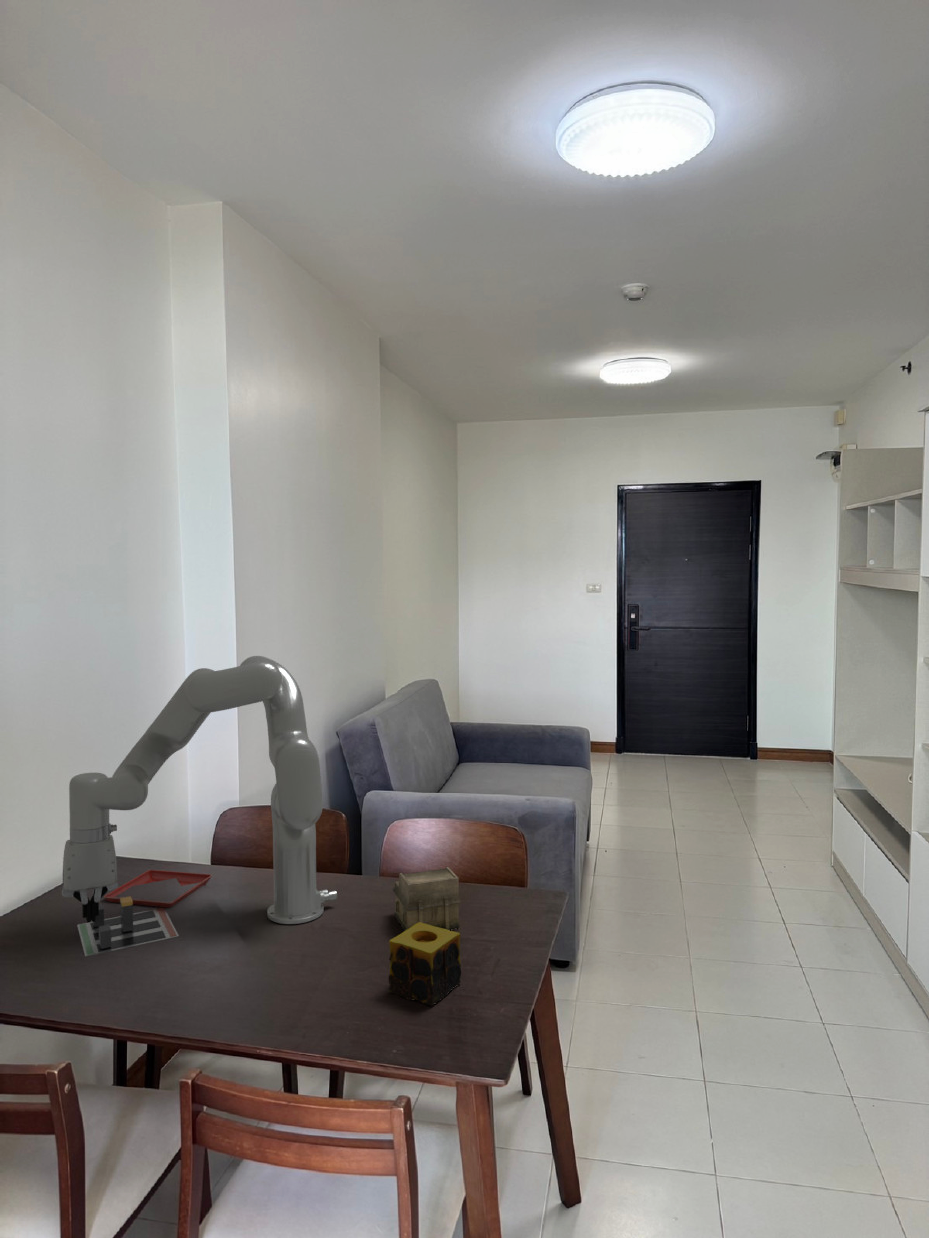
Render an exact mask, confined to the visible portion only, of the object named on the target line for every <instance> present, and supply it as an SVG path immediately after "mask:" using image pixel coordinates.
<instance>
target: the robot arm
mask: <svg viewBox="0 0 929 1238" xmlns="http://www.w3.org/2000/svg"><path fill="white" fill-rule="evenodd" d="M261 702H262V703H263V707H264V710H265V712H264V713H265V719H266V725H267V736H268V756H269V760H270V762H271V764H272V766H273V768H274V772H275V784H274V785H273V788H272V790H271V794H270V809H271V811H270V813H271V820H272V821H271V822H272V824H271V825H272V856H273V861H272V862H273V904H271V905H270V906H269V907H268V908H267V912H266V913H267V914H266V915H267V918H268V919H269V920H270V921H272V922H273V923H278V924H281V925H296V924H298V925H299V924H305V923H308V922H311V921H314V920H316V919H318V918H319V917H321V916H322V915H323V913H324V910H325V909H324V907H325V906H324V903H325V902H326V901H333V900H337V898H338V893H337V891H336V890H330V891H328V888H325V889H321V890H318V889H317V851H316V850H317V831H316V829H317V828H316V823H317V822H318V821H319V819H320V818H321V815H322V812H323V806H324V803H323V802H324V801H323V800H324V799H323V788H322V778H321V777H322V775H321V764H320V758H319V754H318V751H317V748H316V746H315V744H314V743H313V742H312V741H311V740H310V739H309V736H308V728H307V721H306V720H307V718H306V714H305V706H304V700H303V695H302V692H301V689H300V686H299V684H298V682H297V681H296V679H295V678H294V676H293V675H292V674H291V673H290V672H289V670H288V669H286V667H284V666H283V665H282V664H281V663H279V662H277V661H275V660H273V659H272V658H271V659H270V658H268V657H265V656H262V655H253V656H249V657H247V658H246V659H244V660H243V661H242V662H241V663H240V665H238V666H233V667H230V668H225V669H221V670H220V669H219V670H213V669H210V668H207V667H206V668H205V667H204V668H197V669H195V670H193V671H192V672H191V673H190V674H189V675H188V676H187V677H186V678H185V679H184V681H183V682H182V683H181V685H180V686H179V687H178V689H177V690H176V691H175V693H174V694H173V696H172V697H171V698H170V699H169V700H168V702H167V703H166V705H165V706H164V707H163V709H162V710H161V711H160V713H159V714H158V715H157V716H156V718H154V720H153V722H152V723H151V724H150V725H149V726H148V728H147V730H145V732H144V734H143V735H142V736H141V737H140V738H139V739H138V741H137V742H136V743H135V745H134V746H133V747H132V748H131V750H130V751H129V752H128V754H127V755H126V756H125V757H124V759H123V760H122V761H121V762H120V764H119V766H118V767H117V768H116V769H115V771H114V773H113V774H112V776H111V777H108V776H107V775H106V774H105V773H101V772H85V773H84V772H83V773H80V774H77V775H75V776H73V777H71V779H70V781H69V785H68V792H69V793H68V795H69V798H68V799H69V839H68V840H66V841H65V843H64V844H65V845H64V848H63V849H64V850H63V856H62V857H63V858H62V859H63V861H62V884H63V885H62V890H61V895H62V897H64V898H74V899H76V900H77V901H78V902H79V903H81V905H82V906H81V907H82V909H81V910H82V911H81V912H82V919H85V920H86V923H89V922H95V921H96V916H97V915H99V905H100V904H99V903H100V901H101V899H102V898H103V897H104V896H105V895H107V894H106V893H108V892H112V891H114V890H115V889H117V888H119V883H118V869H117V866H118V864H117V854H116V848H115V841H114V836H113V834H112V833H113V832H117V831H118V825H117V824H112V823H110V811H111V810H113V811H132V810H136V809H138V808H139V807H141V806H142V805H143V804H144V803H145V802H146V800H147V799H148V795H149V784H150V783H151V781H152V780H153V779H154V777H155V776H156V774H157V773H158V772H159V771H160V769H161V768H162V766H163V765H164V764H165V762H167V761H168V759H169V758H171V756H172V755H174V754H175V753H176V752H178V751H180V750H183V748H184V747H186V746H187V745H188V744H189V743H190V741H191V739H193V738H194V735H195V734H196V733H197V732H198V730H199V729H200V728H201V726H202V725H203V723H204V722H205V721H206V719H207V718H208V717H209V715H211V713H215V712H223V711H226V710H227V711H228V710H231V709H235V708H240V707H243V706H248V705H252V704H257V703H261ZM87 890H93V892H92V896H91V898H89V896H88V893H87Z"/></svg>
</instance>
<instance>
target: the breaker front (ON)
mask: <svg viewBox="0 0 929 1238" xmlns="http://www.w3.org/2000/svg"><path fill="white" fill-rule="evenodd" d="M99 944H100V948H101V949H103V948H107V947H112V946H111V928H110V925H109V924H108V925H103V926H99Z"/></svg>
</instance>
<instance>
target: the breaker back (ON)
mask: <svg viewBox="0 0 929 1238" xmlns="http://www.w3.org/2000/svg"><path fill="white" fill-rule="evenodd" d="M104 910H105V908H104V906H103V904H102V903H100V904H99V915H97V916H96V921H95V922H93V921H92V922H93V924H94V927H95V926H100V925H104V919H105V911H104Z"/></svg>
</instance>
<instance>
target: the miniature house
mask: <svg viewBox="0 0 929 1238" xmlns="http://www.w3.org/2000/svg"><path fill="white" fill-rule="evenodd" d="M398 878H399V879H398V881H395V882H394V887H393V888H392V891H393V893H394V896H395V897H394V900H395V901H394V903H395V904H394V906H395V907H394V908H395V910H394V911H395V912H394V917H395V919H396V918H397V919H396V921H397V922H398V923H400V924H401V925H400V924H399V925H400V926H402V927H403V928H402V927H401V928H402V930H403V929H404V930H403V932H404V931H406V930H407V929H409V928H411V927H412V926H413V925H415V924H416V923H419V922H421V923H424V924H428V925H432V926H435V927H439V928H443V929H447V930H451V929H455V928H459V927H460V926H461V925H460V917H459V916H460V914H459V913H460V910H459V908H460V906H459V905H460V904H462V903H463V902H462V901H461V900H460V897H459V891H460V889H459V888H460V887H459V884H460V883H459V881H460V879H459V876H458V875H456V874H455V873H454V871H452V869H451V868H450V867H448V866H446V867H445V868H441V869H433V870H432V869H431V870H426V871H418V872H408V873H403V872H400V873H399V874H398ZM451 931H452V930H451Z"/></svg>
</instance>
